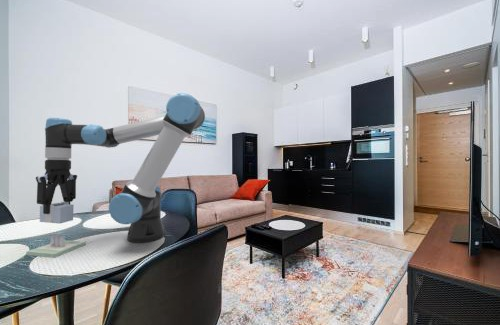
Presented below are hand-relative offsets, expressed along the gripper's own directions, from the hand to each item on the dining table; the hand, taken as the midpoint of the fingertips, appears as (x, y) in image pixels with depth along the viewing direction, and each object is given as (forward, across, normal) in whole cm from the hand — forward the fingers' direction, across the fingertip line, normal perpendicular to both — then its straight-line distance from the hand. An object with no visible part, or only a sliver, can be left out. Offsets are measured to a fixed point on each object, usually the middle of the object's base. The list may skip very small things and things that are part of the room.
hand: (57, 220), depth 83 cm
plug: (0, 0, 0) cm, 0 cm away
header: (+11, 0, 0) cm, 11 cm away
